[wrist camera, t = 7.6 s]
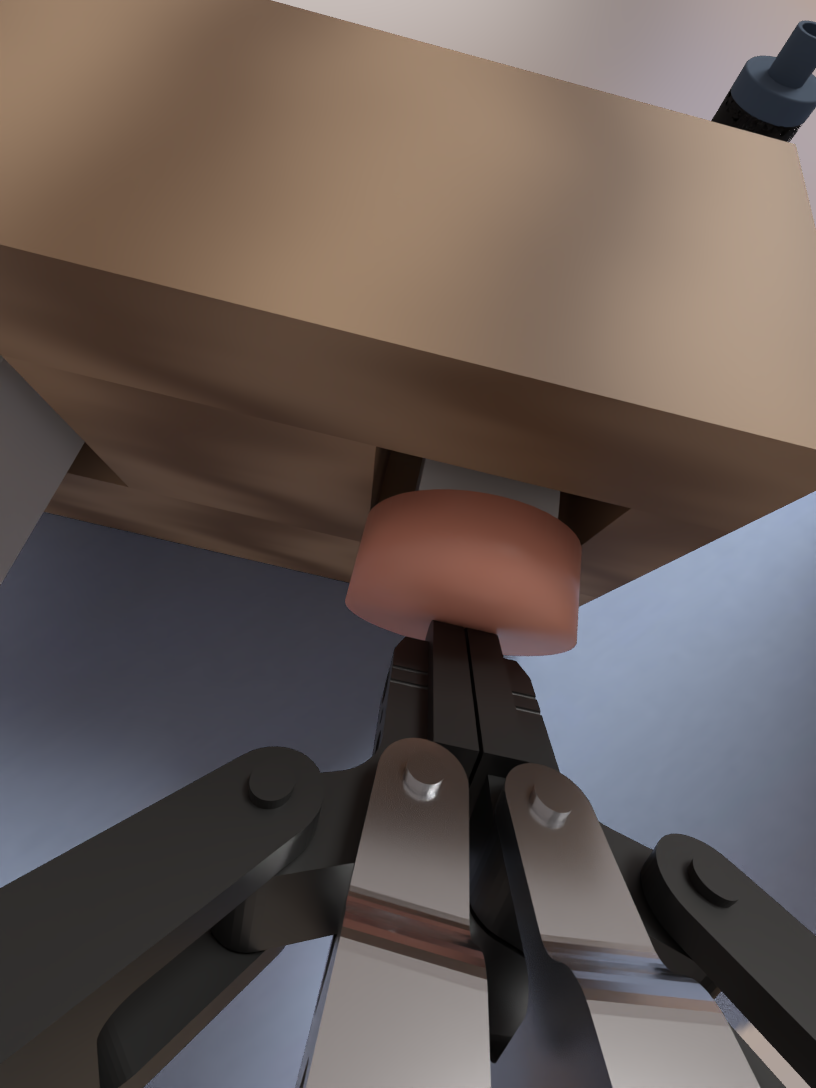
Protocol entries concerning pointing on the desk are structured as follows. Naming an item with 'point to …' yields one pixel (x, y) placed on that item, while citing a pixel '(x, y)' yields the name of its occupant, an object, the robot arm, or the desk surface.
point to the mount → (390, 285)
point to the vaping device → (775, 89)
